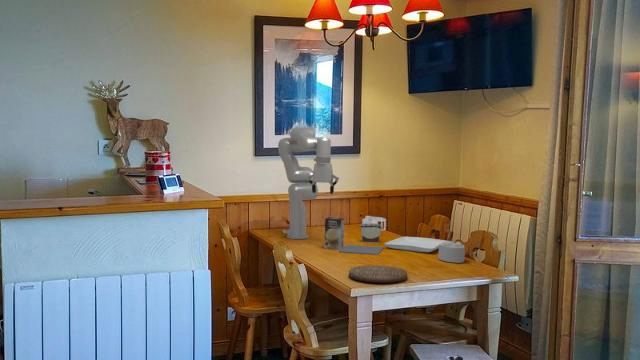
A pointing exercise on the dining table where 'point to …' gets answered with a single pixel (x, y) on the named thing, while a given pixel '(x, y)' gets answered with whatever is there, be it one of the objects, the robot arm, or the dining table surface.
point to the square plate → (415, 244)
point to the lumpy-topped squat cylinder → (452, 252)
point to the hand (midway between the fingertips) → (322, 193)
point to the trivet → (378, 274)
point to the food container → (370, 232)
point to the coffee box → (334, 233)
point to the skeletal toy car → (374, 221)
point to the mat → (361, 249)
